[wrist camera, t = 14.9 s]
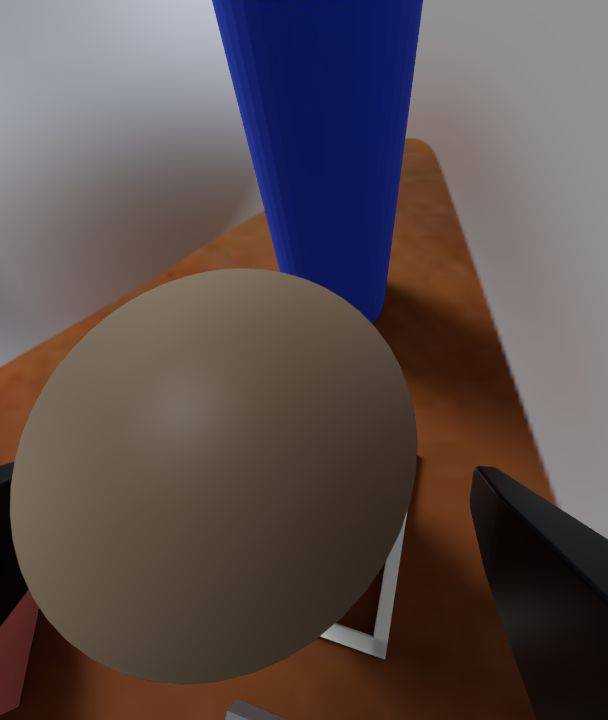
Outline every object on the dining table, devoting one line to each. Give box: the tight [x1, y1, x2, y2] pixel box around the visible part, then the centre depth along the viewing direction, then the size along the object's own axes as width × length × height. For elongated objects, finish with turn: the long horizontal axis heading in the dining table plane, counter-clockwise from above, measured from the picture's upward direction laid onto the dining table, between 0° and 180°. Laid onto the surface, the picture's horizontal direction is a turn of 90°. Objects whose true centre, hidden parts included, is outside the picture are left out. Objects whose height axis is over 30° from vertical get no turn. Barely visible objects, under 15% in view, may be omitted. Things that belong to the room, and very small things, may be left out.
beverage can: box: [212, 0, 423, 323], centre depth 14 cm, size 5×5×15 cm
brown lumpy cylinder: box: [10, 268, 417, 684], centre depth 10 cm, size 5×5×13 cm
